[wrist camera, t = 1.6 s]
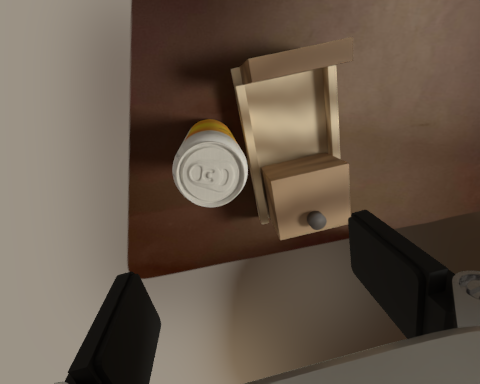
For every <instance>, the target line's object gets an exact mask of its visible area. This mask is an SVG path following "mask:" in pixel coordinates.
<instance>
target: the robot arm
mask: <svg viewBox="0 0 480 384" xmlns="http://www.w3.org/2000/svg"><path fill="white" fill-rule="evenodd" d="M348 226H349V240H350V254H351V267H352V270H353V272H354V274H355V275H356V277H357V278H358V279H359V280H360V281H361V283H362V284H363V285H364V286H365V288H366V289H367V290H368V291H369V292H370V294H371V295H372V296H373V297H374V299H375V300H376V301H377V302H378V303H379V305H380V306H381V307H382V308H383V309H384V310H385V312H386V313H387V314H388V316H389V317H390V318H391V319H392V321H393V322H394V323H395V324H396V325H397V327H398V328H399V329H400V330H401V331H402V333H403V334H404V335H405V336H406V338H407V339H406V340H402V341H398V342H394V343H390V344H386V345H382V346H379V347H375V348H372V349H368V350H364V351H360V352H357V353H353V354H350V355H346V356H342V357H338V358H335V359H331V360H327V361H324V362H320V363H316V364H313V365H309V366H306V367H302V368H298V369H295V370H291V371H288V372H284V373H281V374H277V375H273V376H270V377H266V378H263V379H259V380H256V381H252V382H248V383H245V384H480V272H479V271H462V272H459V273H457V274H456V275H455V274H454V273H452V272H451V271H450V270H448V268H446V267H445V266H444V265H442V264H441V263H440V262H438V261H437V260H436V259H434V258H433V257H431V256H430V255H429V254H427V253H426V252H424V251H423V250H422V249H420V248H419V247H417V246H416V245H415V244H413V243H412V242H410V241H409V240H408V239H406V238H405V237H403V236H402V235H401V234H399V233H398V232H397V231H395V230H394V229H392V228H391V227H390V226H388V225H387V224H386V223H384V222H383V221H381V220H380V219H379V218H377V217H376V216H374V215H373V214H372V213H370V212H369V211H367V210H362V211H359V212H355V213H352V215H351V217H349V218H348ZM160 328H161V321H160V318H159V315H158V313H157V311H156V309H155V307H154V305H153V304H152V301H151V299H150V297H149V295H148V293H147V291H146V289H145V287H144V285H143V283H142V280H141V278H140V276H139V275H138V274H134V273H133V272H128V273H124V274H121V275H118V276H117V277H116V279H115V281H114V283H113V285H112V287H111V288H110V290H109V293H108V294H107V296H106V299H105V300H104V302H103V304H102V306H101V308H100V310H99V312H98V314H97V316H96V318H95V320H94V322H93V324H92V326H91V328H90V330H89V332H88V334H87V336H86V338H85V340H84V342H83V343H82V346H81V347H80V349H79V351H78V353H77V355H76V357H75V359H74V361H73V363H72V365H71V367H70V369H69V371H68V373H69V374H68V376H67V378H66V380H65V382H58V383H54V384H149V381H150V376H151V372H152V367H153V361H154V357H155V352H156V348H157V343H158V338H159V333H160Z"/></svg>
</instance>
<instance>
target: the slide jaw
mask: <svg viewBox="0 0 480 384" xmlns="http://www.w3.org/2000/svg"><path fill="white" fill-rule="evenodd" d="M261 172H262V178H263V183H264V189H265V195H266V201H267V206H268V212H269V218H270V220H271V222H272V224H273V226H274V228H275V230H276V232H277V234H278V236H279V238H280V240H284V239H288V238H292V237H296V236H300V235H305V234H309V233H313V232H317V231H321V230H326V229H330V228H334V227H338V226H342V225H346V224H348V218H349V217H351V213H350V182H349V163H347V162H345V161H343V160H341V159H339V158H337V157H335V156H332V155H330V154H328V153H326V152H325V153H321V154H317V155H312V156H308V157H303V158H299V159H295V160H290V161H286V162H281V163H277V164H273V165H268V166H264V167H261Z"/></svg>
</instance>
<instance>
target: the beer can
mask: <svg viewBox="0 0 480 384" xmlns="http://www.w3.org/2000/svg"><path fill="white" fill-rule="evenodd" d="M172 171H173V178H174V181H175V184H176V186H177V188H178V189H179V191H180V192H181V193H182V194H183V195H184V196H185V197H186V198H187V199H188V200H189V201H191V202H193V203H194V204H197V205H199V206H203V207H218V206H222V205H225V204H227V203H229V202H230V201H232V200H233V199H234V198H235V197H236V196H237V195H238V194H239V193H240V192H241V191H242V189H243V187H244V186H245V183H246V180H247V176H248V165H247V160H246V157H245V155H244V153H243V152H242V150H241V148H240V147H239V145H238V143H237V142H236V140H235V138H234V137H233V135H232V133H231V132H230V130H229V129H228V127H227V126H226V125H224V124H223V123H221V122H220V121H217V120H213V119H206V120H201V121H199V122H197V123H196V124H194V125H193V126H192V127H191V129H190V130H189V132H188V134H187V136H186V137H185V139H184V141H183V143H182V145H181V146H180V148H179V150H178V152H177V154H176V156H175V158H174V161H173V169H172Z"/></svg>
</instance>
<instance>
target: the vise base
mask: <svg viewBox="0 0 480 384" xmlns="http://www.w3.org/2000/svg"><path fill="white" fill-rule="evenodd" d="M349 61H353V37H349V38H345V39H340V40H335V41H331V42H326V43H321V44H316V45H312V46H307V47H302V48H297V49H293V50H288V51H283V52H278V53H274V54H269V55H264V56H259V57H255V58H250V59H248V60H246V61H245V62H244V63H243V64H242V65H241V66H240V67H237V68H233V69H231V75H232V80H233V85H234V90H235V96H236V101H237V106H238V111H239V116H240V122H241V127H242V132H243V137H244V142H245V148H246V153H247V158H248V163H249V169H250V174H251V179H252V184H253V189H254V195H255V200H256V205H257V210H258V215H259V218H260V221H261V223H262V224H266V223H269V221H268V218H269V212H268V206H267V201H266V195H265V189H264V183H263V178H262V172H261V167H264V166H268V165H273V164H277V163H281V162H286V161H290V160H295V159H299V158H303V157H308V156H312V155H317V154H321V153H325V152H326V153H328V154H330V155H332V156H335V157H337V158H339V159H340V138H339V117H338V95H337V73H336V65H337V64H341V63H345V62H349ZM333 65H334V66H333Z"/></svg>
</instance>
